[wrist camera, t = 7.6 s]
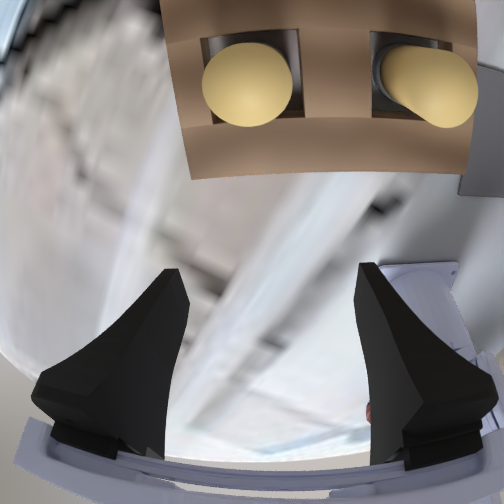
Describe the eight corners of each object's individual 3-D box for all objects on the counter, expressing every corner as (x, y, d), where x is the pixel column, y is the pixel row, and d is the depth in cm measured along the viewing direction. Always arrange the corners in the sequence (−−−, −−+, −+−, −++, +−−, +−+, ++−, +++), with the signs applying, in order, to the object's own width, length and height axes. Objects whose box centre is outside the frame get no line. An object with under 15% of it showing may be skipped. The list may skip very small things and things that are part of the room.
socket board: (452, 162, 18) (465, 174, 17) (198, 167, 21) (191, 179, 19) (459, 0, 11) (475, -1, 10) (169, -5, 13) (158, -9, 12)
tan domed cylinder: (292, 101, 18) (297, 126, 13) (227, 106, 18) (207, 133, 13) (286, 39, 15) (290, 36, 10) (218, 45, 16) (193, 47, 11)
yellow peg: (429, 104, 16) (477, 132, 12) (373, 101, 17) (408, 128, 12) (428, 46, 14) (480, 55, 9) (369, 41, 15) (406, 43, 10)
